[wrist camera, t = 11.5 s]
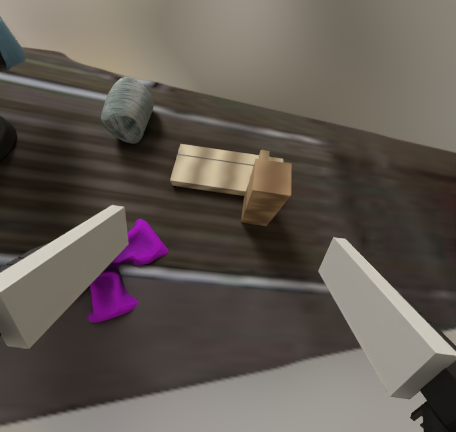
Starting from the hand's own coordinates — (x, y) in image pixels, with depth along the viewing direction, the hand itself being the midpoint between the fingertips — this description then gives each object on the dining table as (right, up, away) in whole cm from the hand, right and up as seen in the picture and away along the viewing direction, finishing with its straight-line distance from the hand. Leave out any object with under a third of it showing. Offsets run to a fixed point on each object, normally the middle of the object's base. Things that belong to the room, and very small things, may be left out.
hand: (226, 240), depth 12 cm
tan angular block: (+6, +6, +26) cm, 28 cm away
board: (0, +10, +28) cm, 30 cm away
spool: (-21, +23, +32) cm, 44 cm away
